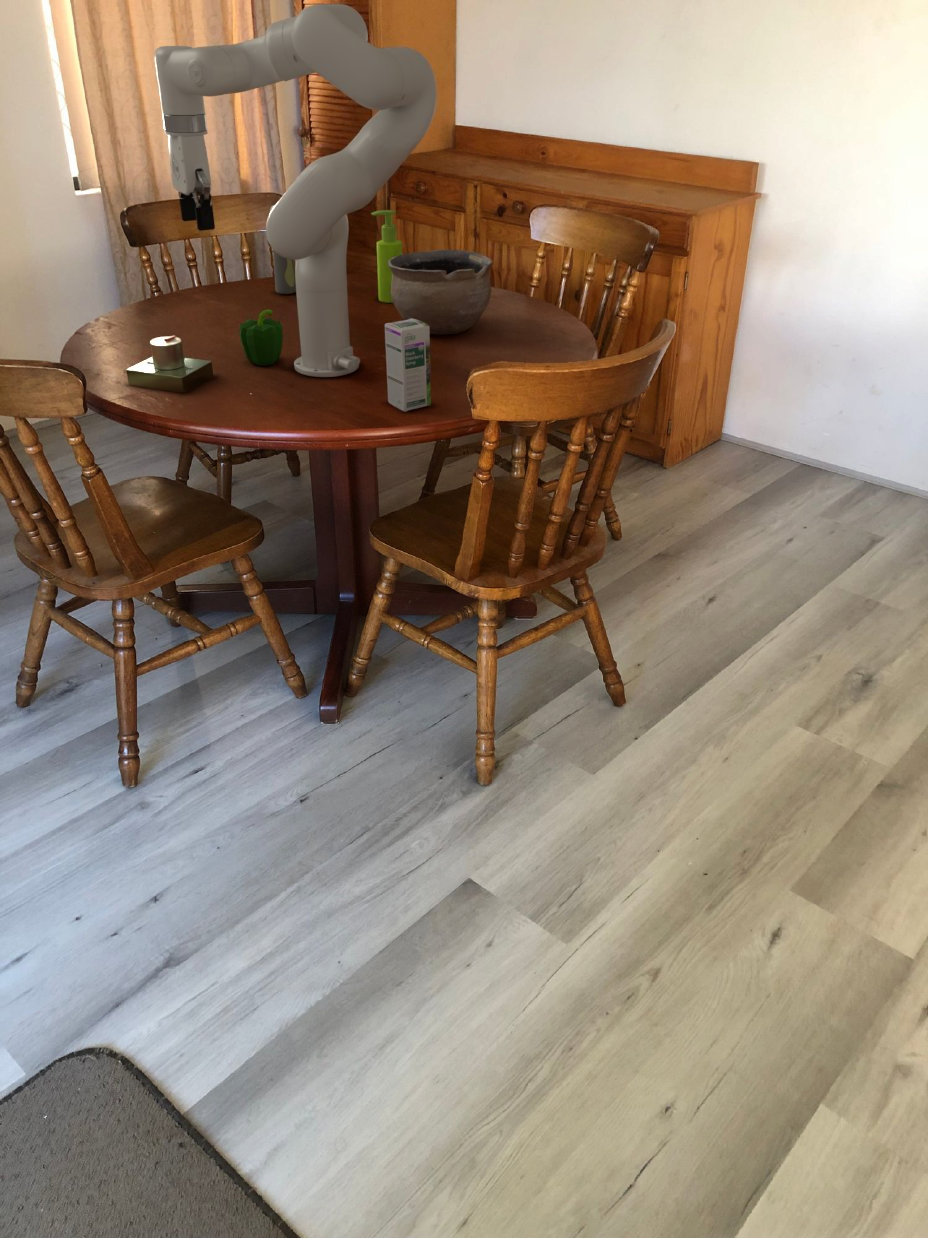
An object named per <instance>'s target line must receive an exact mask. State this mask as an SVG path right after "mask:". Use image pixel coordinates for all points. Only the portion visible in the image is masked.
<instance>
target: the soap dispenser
mask: <svg viewBox="0 0 928 1238" xmlns="http://www.w3.org/2000/svg"><path fill="white" fill-rule="evenodd" d="M370 215H371V216H373V217H378V216H384V224H383V225H381V240H378V241H376V259H377V260H376V262H377V265H376V267H377V290H378V291H377V294H378V301H379V302H381V303H387V304H393V302H392V298H391V281H392V272H391V270H390V267H389V265H388V261H389V259H392V258H394V257H395V256H398V255H401V254H403V242H402V241H401V240H397V226H396V225H395V224H393V215H396V211H395V210H392V209H381V210H376V211H373V212H371V213H370Z"/></svg>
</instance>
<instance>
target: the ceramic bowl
mask: <svg viewBox="0 0 928 1238" xmlns="http://www.w3.org/2000/svg"><path fill="white" fill-rule="evenodd" d="M493 261H494V260H493V259H492V258H490V257H489V256H486V255H484V254H481V253H478V252H474V251H470V250H462V249H435V250H424V251H416V252H415V251H414V252H410V253H402V254H401V255H398V256H395V257H394V258H392V259H389V261H388V265H389V267H390V270H391V272H392V281H391V298H392V302H393V303H392V305H393V306H394V307H395V309H396V310H397V312H398V314H399V315H400V316H401V318H402V319H403V320H409V319H411V318H412V319H416V320H419V321H422V322H424V323H426V324H427V325H429V330H430V335H439V336H442V335H445V336H446V335H447V336H448V335H456V334H460V333H463V332H465V331H467V330H469V329H470V328H471V327H473V326H474V325H475V324H476V323H477V322H478V321H479V320H480V318H481V317H482V316H483V314H484V312H485V310H486V308H487V307H488V305H489V303H490V299H491V295H492V283H491V277H490V270H491V268H492V265H493Z"/></svg>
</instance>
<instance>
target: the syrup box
mask: <svg viewBox="0 0 928 1238" xmlns="http://www.w3.org/2000/svg"><path fill="white" fill-rule="evenodd" d="M430 335H431V334H430V330H429V325H427V324H426V323H424V322H422V321H419V320H416V319H412V318H411V319H409V320H404V319H403V320H398V321H392V322H387V323H385V324H384V344H385V361H386V363H385V364H386V384H387V402H388V404H390V405H392V406H393V407H395V408H396V409H398V410H399V411H402V412H409V411H413V410H417V409H421V408H425V407H430V406H431V405H432V391H431V390H432V387H431V386H432V384H431V337H430Z"/></svg>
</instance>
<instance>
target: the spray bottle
mask: <svg viewBox="0 0 928 1238" xmlns="http://www.w3.org/2000/svg"><path fill="white" fill-rule="evenodd" d="M275 205H276V203H275V204H273V205H271V207H270V209H269V213H270V212H271V211H272V209H273V208H274V206H275ZM272 258H273V271H274V284H275V285H274V286H275V292H276V293H277V294H279V295H292V294H295V293H296V280H295V264H294V260H290V259H286V258H283V257H281V256H280V255H278V254H277V253H276V252H275V251H274V250H273V249H272Z"/></svg>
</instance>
